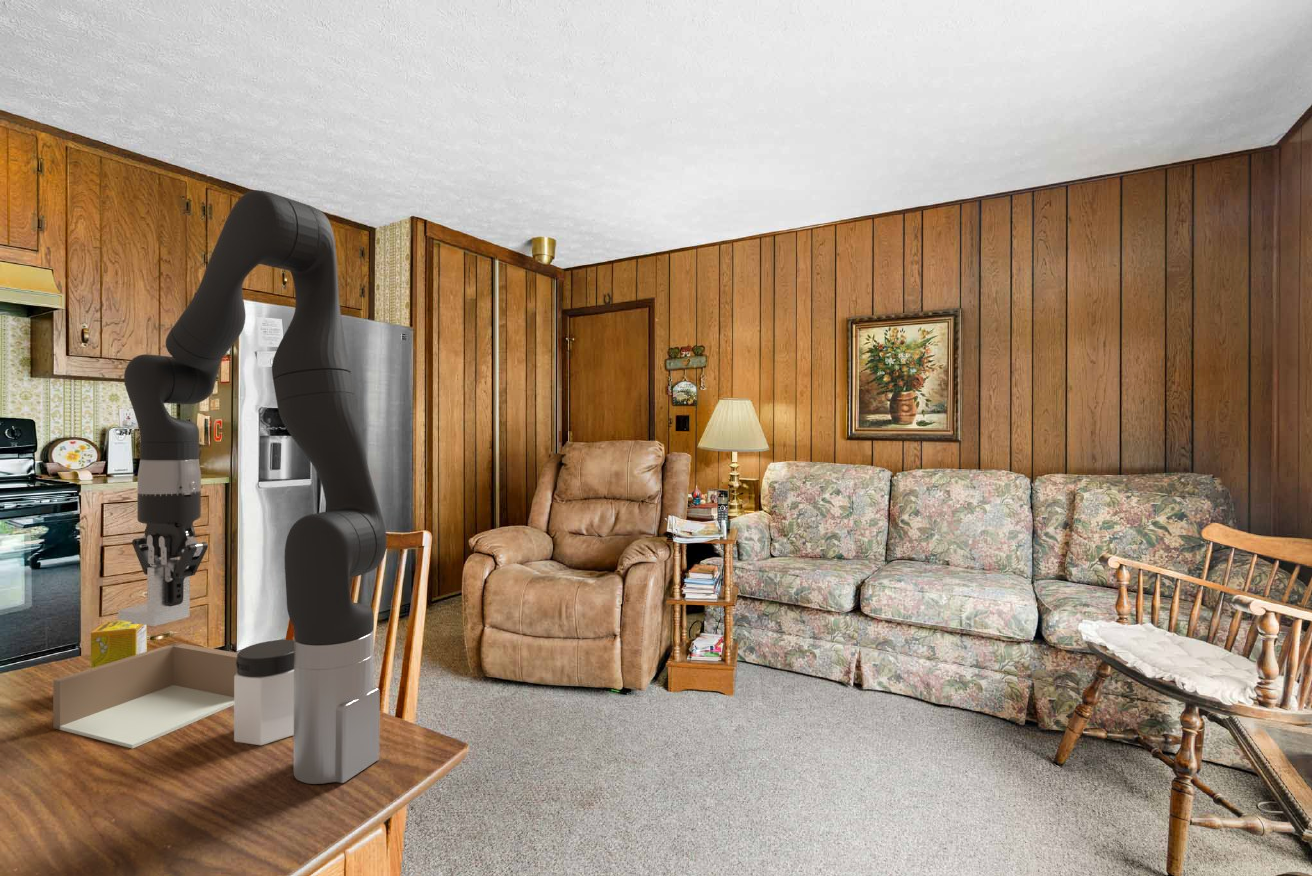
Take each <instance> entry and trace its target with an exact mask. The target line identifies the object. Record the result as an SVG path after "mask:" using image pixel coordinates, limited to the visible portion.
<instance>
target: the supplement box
mask: <svg viewBox="0 0 1312 876" xmlns="http://www.w3.org/2000/svg"><path fill="white" fill-rule="evenodd" d="M147 651H148V625H144V624H138V623H133V622H127V621H121V620H112V621H105V622H103V623H102V624H101V625H99V626H98V627H97V628H95V629H94V630H92V631H91V632H90V669H91V668H95V667H98V666H101V665H104V664H108V663H111V662H114V661H118V660H121V659H124V658H127V657H131V656H134V655H137V654H141V653H144V652H147Z"/></svg>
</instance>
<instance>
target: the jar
mask: <svg viewBox="0 0 1312 876" xmlns="http://www.w3.org/2000/svg"><path fill="white" fill-rule="evenodd" d="M237 653H238V654H237V661H236V667H237V674H236V675H235V676H234V705H233V722H234V723H233V741H234V742H235V743H241V744H242V743H243V744H248V745H249V744H250V745H253V746H255V745H256V746H265V745H267V744H270V743H274V742H277V741H280V740H283V739H286V738H289V737H294V639H275V640H269V641H264V642H259V643H255V644H252V645H248V646H247V647H244V648H242V649H240V650H239V651H238V652H237Z"/></svg>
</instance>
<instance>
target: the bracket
mask: <svg viewBox="0 0 1312 876" xmlns="http://www.w3.org/2000/svg"><path fill="white" fill-rule="evenodd" d="M176 566H177V565H175V566H174V571H175V569H176ZM188 567H189V566H188ZM188 567H187V568H188ZM146 577H147V585H146V586H147V591H146V593H147V595H146V596H147V602H146V603H142V604H138V605H134V606H130V607H125V608H121V609H117V619H118V620H117V621H127V622H133V623H138V624H144V625H147V626H149V627H150V626H151V627H156V626H161V625H164V624H168V623H172V622H176V621H178V620H182V619H186V618H189V617H190V613H191V612H190V605H191V604H190V602H191V599H190V598H191V597H190V590H191V589H190V588H191V586H190V581H191V578H190V577H191V576H188V577H187V578H185V579H184V591H183V602H182V603H181V604H179V605H175V606H171V607H169V606H165V582H166V580H165V567H164V566H162V565H160V566H154V567H149V568H147V575H146Z"/></svg>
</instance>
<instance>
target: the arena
mask: <svg viewBox="0 0 1312 876" xmlns="http://www.w3.org/2000/svg"><path fill="white" fill-rule="evenodd" d="M238 653H239V652H234V651H228V650H224V649H223V650H222V649H217V648H211V647H204V646H199V645H193V644H187V643H183V642H182V643H181V642H174V643H170V644H167V645H164V646H162V647H161V646H160V647H158V648H157V647H156V648H154V649H152V650H147V652H144V653H141V654H137V655H134V656H131V657H127V658H124V659H121V660H118V661H114V662H111V663H108V664H104V665H101V666H98V667H95V668H91V667H90V668H89V669H84V670H82V671H78V672H76V673H72V674H68V675H66V676H61V677H58V678H56V679H53V681H52V682H53V683H52V685H53V686H52V687H53V689H52V690H53V692H52V693H53V695H52V696H53V697H52V698H53V701H52V704H53V705H52V707H53V709H52V710H53V714H52V715H53V716H52V717H53V719H52V720H53V721H52V722H53V723H52V725H53V726H52V727H53V728H52V729H56V730H60V731H64V732H68V733H71V734H75V735H78V736H82V737H87V738H90V739H95V740H98V741H101V742H105V743H110V744H114V745H116V746H117V745H118V746H120V747H121V746H122V747H125V748H129V749H135V748H137V747H140V746H141V745H144V744H146V743H149V742H151V741H153V740H156V739H158V738H161V737H162V736H165V735H167V734H170V733H173V732H174V731H176V730H179V729H181V728H184V727H187V726H188V725H190V724H193V723H195V722H197V721H200V720H203V719H205V718H207V717H209V716H211V715H213V714H217V713H218V712H221V711H223V710H226V709H228V708H230V707H234V676H235V675H236V674H237V667H236V661H237V654H238Z"/></svg>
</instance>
